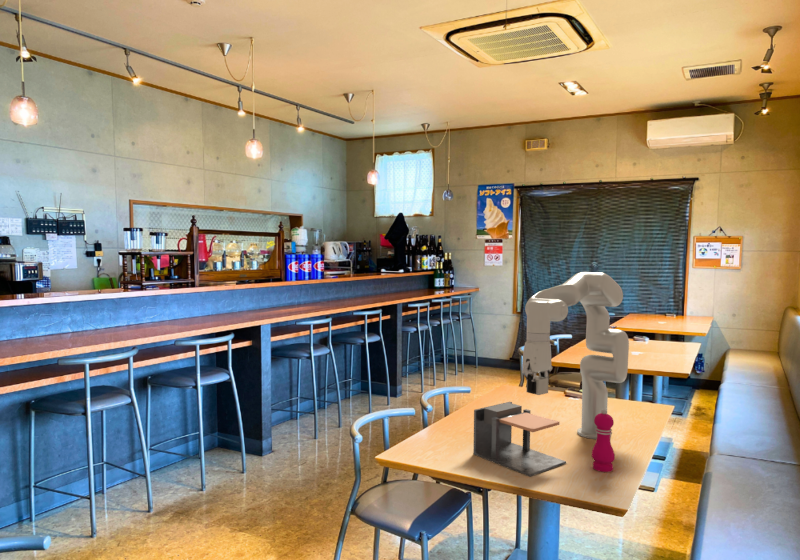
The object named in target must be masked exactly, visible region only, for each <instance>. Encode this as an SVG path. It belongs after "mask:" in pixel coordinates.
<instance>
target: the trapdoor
mask: <svg viewBox="0 0 800 560" xmlns="http://www.w3.org/2000/svg"><path fill="white" fill-rule="evenodd" d="M504 403H505V404H502V403H499V404H500V405H497V404H495V405H496V406H493V405H490V406H491V407H489V406H486V407H487V408H484V407H483V408H484V423H487V424H490V425H492V417H497V418H499V419H500V418H503V419H500V421H499V426H501V425H505V424H507V425H511V426H512V427H515V428H517V429H520V430H522V431H523V430H527V431H530V433H535V432H539V431H542V430H546V429H550V428H553V427H556V426H559V425H560V421H557V420H554V419H550V418H547V417H545V416H541V415H537V414H533V413H531V412H530V413H523V412H522V411H523V410H522V405H519V404H516V403H513V402H512V403H506V402H504ZM520 413H523V414H520ZM516 414H519V415H516ZM512 415H515V416H512ZM508 416H511V417H508ZM504 417H507V418H504Z"/></svg>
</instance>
